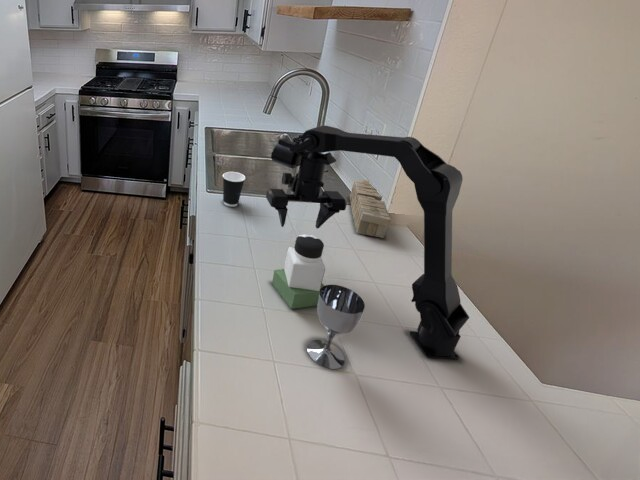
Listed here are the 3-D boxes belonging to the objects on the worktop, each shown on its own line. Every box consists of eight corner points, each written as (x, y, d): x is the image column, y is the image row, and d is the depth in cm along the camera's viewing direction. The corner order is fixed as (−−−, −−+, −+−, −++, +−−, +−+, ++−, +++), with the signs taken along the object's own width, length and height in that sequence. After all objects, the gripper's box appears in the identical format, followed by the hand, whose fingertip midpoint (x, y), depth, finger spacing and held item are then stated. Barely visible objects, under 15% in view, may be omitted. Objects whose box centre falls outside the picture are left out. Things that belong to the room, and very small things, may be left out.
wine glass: (323, 374, 76) (340, 317, 70) (296, 342, 83) (310, 288, 77) (355, 365, 78) (375, 309, 72) (327, 335, 85) (342, 281, 79)
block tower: (348, 198, 146) (355, 235, 121) (353, 178, 143) (362, 211, 118) (372, 202, 143) (384, 241, 118) (378, 182, 140) (391, 217, 115)
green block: (324, 304, 94) (328, 289, 92) (291, 308, 92) (294, 294, 90) (302, 279, 102) (305, 266, 100) (271, 283, 100) (274, 269, 99)
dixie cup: (243, 209, 136) (247, 181, 132) (220, 208, 137) (224, 180, 132) (239, 198, 143) (243, 172, 139) (218, 197, 144) (221, 171, 140)
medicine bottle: (320, 292, 91) (330, 250, 87) (288, 287, 93) (297, 246, 88) (312, 272, 98) (322, 232, 93) (283, 268, 99) (291, 229, 94)
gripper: (334, 163, 104) (322, 213, 110) (265, 161, 105) (257, 210, 112) (354, 181, 94) (339, 235, 100) (276, 178, 95) (267, 231, 101)
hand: (299, 226), depth 104 cm, fingers open, 9 cm apart
